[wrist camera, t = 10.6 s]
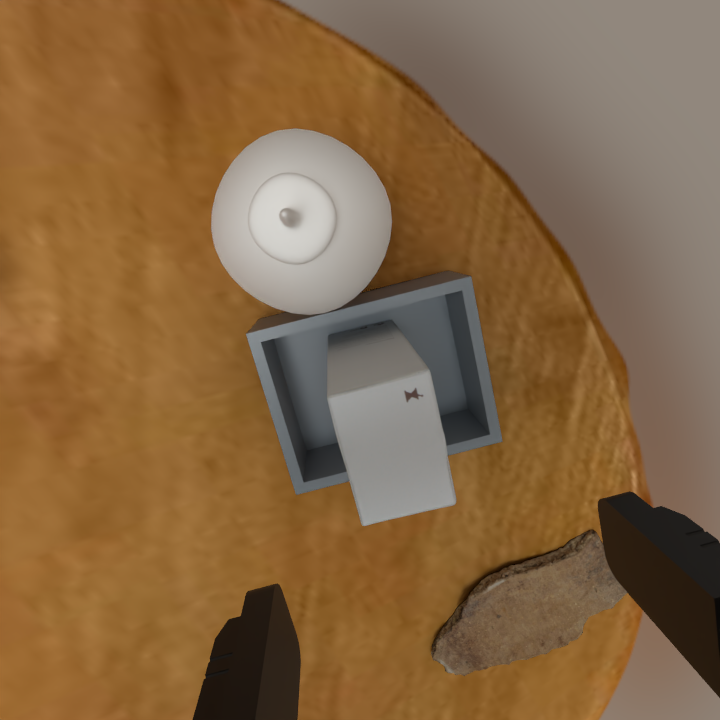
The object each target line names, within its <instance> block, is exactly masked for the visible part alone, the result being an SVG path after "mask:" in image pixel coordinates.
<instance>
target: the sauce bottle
mask: <svg viewBox="0 0 720 720" xmlns="http://www.w3.org/2000/svg"><path fill="white" fill-rule="evenodd" d="M391 227H392V216H391V205H390V202H389V199H388V196H387V193H386V190H385V187H384V186H383V184H382V182H381V181H380V179H379V177H378V176H377V174H376V172H375V171H374V170H373V169H372V168H371V167H370V166H369V164H368V163H367V162H366V161H365V160H364V159H363V158H362V157H361V156H360V155H359V154H357V153H356V152H355V151H354V150H352V149H351V148H350V147H349V146H347V145H345V144H343V143H342V142H340V141H338V140H336V139H334V138H333V137H330V136H327V135H324V134H321V133H319V132H316V131H311V130H303V129H287V130H278V131H275V132H272V133H270V134H267V135H265V136H262V137H260V138H259V139H257V140H256V141H254V142H253V143H251V144H250V145H249V146H247V147H246V148H245V149H244V150H243V151H242V152H241V153H240V154H239V155H238V156H237V157H236V158H235V159H234V160H233V162H232V163H231V165H230V167H229V168H228V170H227V171H226V173H225V174H224V176H223V178H222V180H221V183H220V185H219V187H218V190H217V192H216V195H215V200H214V204H213V209H212V222H211V231H212V236H213V242H214V247H215V249H216V252H217V254H218V256H219V258H220V261H221V263H222V265H223V266H224V267H225V269H226V270H227V272H228V273H229V274H230V276H231V277H232V278H233V279H234V280H235V281H236V282H237V283H238V284H239V285H240V286H241V287H242V288H243V289H244V290H245V291H246V292H248V293H249V294H251V295H252V296H253V297H255V298H256V299H258V300H259V301H261V302H263V303H265V304H267V305H269V306H271V307H274V308H276V309H279V310H283V311H286V312H290V313H294V314H305V315H313V314H321V313H327V312H329V311H332V310H335V309H337V308H340V307H342V306H343V305H345V304H346V303H348V302H349V301H351V300H352V299H354V298H355V297H356V296H357V295H358V294H359V293H360V292H361V291H362V290H363V289H364V288H366V287H367V285H368V284H369V283H370V281H371V280H372V278H373V277H374V276H375V274H376V273H377V271H378V269H379V267H380V265H381V263H382V261H383V259H384V257H385V255H386V251H387V248H388V245H389V241H390V236H391Z"/></svg>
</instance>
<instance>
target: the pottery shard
mask: <svg viewBox="0 0 720 720" xmlns="http://www.w3.org/2000/svg"><path fill="white" fill-rule="evenodd" d="M626 593H627V591H626V590H625V589H624V588H623V587H622V586H621V585H620V583H619V582H618V581H617V580H616V578H615V577H614V575H613V574H612V572H611V570H610V568H609V565H608V563H607V560H606V557H605V552H604V546H603V543H602V542H601V540H600V538H599V536H598V535H597V533H596V532H595V531H594V530H591V531H589V532H585V533H583V534H581V535H579V536H577V537H575V538H574V539H571V540H570V541H569V542H568V543H567V544H566V545H565V546H564V548H559V549H558V550H557V551H553V552H551V553H549V554H546V555H544V556H541V557H537V558H536V559H535V558H533V559H531V560H527V561H525V562H523V563H521V564H516V565H511V566H508V568H503V569H502V570H501V571H500V572H498V573H494V574H492V575H489V576H487V577H486V578H484V579H483V580H482V581H481V582H480V583H479V584H478V585H477V586H476V587H475V588H474V589H473V591H472V592H471V593H470V594H469V596H468V598H467V599H466V600H465V601H464V602H463V603H462V604H461V605H460V606H459V607H458V608H457V609H456V611H455V613H454V615H453V616H452V617H451V618H450V619H449V620H448V621H447V622H446V624H445V625H444V626H443V628H442V629H441V631H440V633H439V634H438V636H437V638H436V639H435V641H434V643H433V645H432V651H431V655H432V658H433V660H435V661H438V662H439V663H441V664H443V665H444V667H445V671H446V672H448V673H454V674H455V675H458V674H461V675H463V676H465V675H467V674H469V673H471V672H473V671H475V670H483V669H487V668H488V667H491V666H495V665H500V664H510V663H511V662H512V661H515V660H527V659H529V658H532V657H535V656H537V655H540V654H547V653H548V652H549V651H550V650H552V649H555V648H559V647H563V646H566V645H568V643H569V642H570V641H573V640H576V639H578V637H579V636H580V635H581V634H582V633H583V626H584V623H586V620H587V619H588V617H589V616H592V615H594V614H597V613H599V612H600V611H602V610H604V609H610V608H613V607H614V605H615V604H616V603H617V602H618V601H619V600H621V599H622V597H623V596H624V595H625V594H626Z"/></svg>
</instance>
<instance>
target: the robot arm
mask: <svg viewBox="0 0 720 720" xmlns="http://www.w3.org/2000/svg"><path fill="white" fill-rule="evenodd" d="M598 512H599V519H600V525H601V532H602V539H603V546H604V552H605V557H606V560H607V563H608V565H609V568H610V570H611V572H612V574H613V575H614V577H615V578H616V580H617V581H618V582H619V583H620V585H621V586H622V587H623V588H624V589H625V590H626V591H627V593H628V594H629V595H630V596H631V597H632V598H633V599H634V601H635V602H636V603H637V604H638V605H639V606H640V607H641V609H642V610H643V611H644V612H645V613H646V614H647V615H648V616H649V618H650V619H651V620H652V621H653V622H654V623H655V624H656V626H657V627H658V628H659V629H660V630H661V631H662V632H663V634H664V635H665V636H666V637H667V638H668V639H669V640H670V642H671V643H672V644H673V645H674V646H675V647H676V648H677V650H678V651H679V652H680V653H681V654H682V655H683V656H684V657H685V659H686V660H687V661H688V662H689V663H690V664H691V665H692V667H693V668H694V669H695V670H696V671H697V672H698V673H699V675H700V676H701V677H702V678H703V679H704V680H705V682H706V683H707V684H708V685H709V686H710V687H711V688H712V690H713V691H714V692H715V693H716V694H717V695H718V696H719V698H720V543H719V541H718V540H717V539H716V538H715V537H713V536H712V535H711V534H709V533H708V532H704V530H703V528H701V527H700V526H699V525H697V524H696V523H694V522H693V521H692V520H690V519H689V518H688V517H686V516H685V515H683V514H680V513H677V512H675V511H672V510H670V509H667V508H665V507H662V506H660V507H656V508H652V507H651V506H650V505H649V504H647V503H646V502H645V501H644V500H642V499H641V498H640V497H638V496H637V495H636V494H635V493H633V492H626V493H622V494H618V495H615V496H611V497H607V498H603V499H600V500H599V501H598ZM300 666H301V659H300V648H299V642H298V638H297V634H296V631H295V628H294V625H293V622H292V619H291V616H290V613H289V610H288V607H287V604H286V601H285V598H284V595H283V592H282V589H281V587H280V585H279V584H273V585H270V586H266V587H262V588H258V589H254V590H251V591H248V592H247V593H246V596H245V601H244V605H243V609H242V614H241V616H240V617H236V618H232V619H229V620H228V621H227V623H226V624H225V625H224V627H223V628H222V630H221V631H220V633H219V634H218V636H217V637H216V638H215V642H214V645H213V649H212V653H211V656H210V662H209V663H208V667H207V670H206V674H205V676H206V679H204V681H203V685H202V688H201V692H200V695H199V699H198V703H197V706H196V710H195V713H194V717H193V720H297V717H298V700H299V683H300Z"/></svg>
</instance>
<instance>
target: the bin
mask: <svg viewBox="0 0 720 720" xmlns="http://www.w3.org/2000/svg"><path fill="white" fill-rule="evenodd" d="M388 320H393V321H394V323H395V324H396V325H397V327H398V328H399V329H400V331H401V332H402V333H403V335H404V336H405V338H406V339H407V340H408V342H409V343H410V344H411V345H412V347H413V348H414V350H415V351H416V352H417V354H418V355H419V356H420V357H421V359H422V360H423V361H424V363H425V364H426V366H427V367H428V369H429V370H430V373H431V377H432V381H433V386H434V390H435V395H436V400H437V404H438V409H439V414H440V418H441V423H442V428H443V432H444V435H445V440H446V446H447V455H452V454H456V453H460V452H464V451H468V450H472V449H475V448H479V447H483V446H487V445H491V444H495V443H499V442H502V436H501V431H500V426H499V421H498V415H497V410H496V405H495V400H494V394H493V389H492V384H491V379H490V373H489V368H488V363H487V357H486V352H485V347H484V342H483V336H482V331H481V326H480V321H479V315H478V310H477V305H476V299H475V294H474V289H473V284H472V278H471V276H468V275H464V274H460V273H456V272H452V271H444V272H441V273H437V274H433V275H429V276H425V277H421V278H417V279H413V280H409V281H406V282H402V283H398V284H394V285H390V286H386V287H382V288H378V289H374V290H370V291H367V292H363V293H359V294H358V295H357V296H356V297H355V298H354V299H352V300H351V301H349V302H348V303H346V304H345V305H343V306H342V307H340V308H337V309H335V310H332V311H329V312H327V313H321V314H313V315H305V314H294V313H290V312H285V313H281V314H277V315H273V316H269V317H265V318H261V319H259V320H258V321H257V322H256V323H255V324H254V325H253V327H252V328H251V329H250V330H249V331H248V332H247V333H246V335H247V339H248V342H249V345H250V348H251V351H252V355H253V358H254V361H255V364H256V367H257V371H258V374H259V377H260V380H261V384H262V387H263V390H264V393H265V396H266V400H267V403H268V406H269V409H270V412H271V416H272V419H273V422H274V425H275V429H276V432H277V435H278V438H279V441H280V445H281V448H282V451H283V454H284V457H285V461H286V464H287V467H288V470H289V474H290V477H291V480H292V483H293V486H294V490H295V493H296V495H298V494H301V493H305V492H309V491H313V490H317V489H321V488H325V487H328V486H332V485H336V484H340V483H344V482H348V481H349V477H348V474H347V470H346V467H345V464H344V460H343V457H342V454H341V450H340V447H339V444H338V440H337V437H336V433H335V429H334V425H333V421H332V417H331V413H330V408H329V404H328V400H327V356H328V335H330V334H335V333H339V332H343V331H347V330H351V329H355V328H359V327H363V326H367V325H371V324H376V323H380V322H384V321H388Z"/></svg>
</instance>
